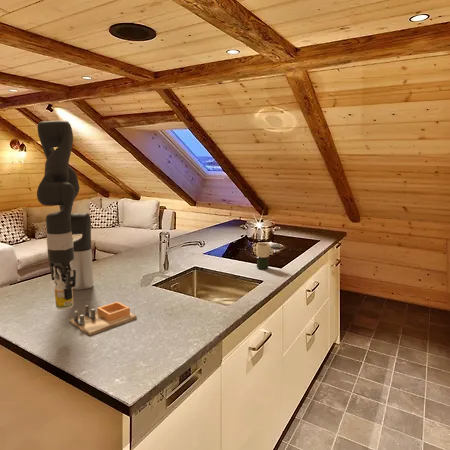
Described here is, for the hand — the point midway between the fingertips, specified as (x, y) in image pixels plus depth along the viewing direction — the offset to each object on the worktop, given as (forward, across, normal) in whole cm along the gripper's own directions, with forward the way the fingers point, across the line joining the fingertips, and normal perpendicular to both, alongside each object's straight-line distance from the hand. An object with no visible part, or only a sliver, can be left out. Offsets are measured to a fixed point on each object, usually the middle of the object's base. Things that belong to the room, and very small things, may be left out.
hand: (64, 296), depth 119 cm
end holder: (+13, 0, +17) cm, 21 cm away
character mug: (+14, +3, +104) cm, 105 cm away
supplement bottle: (+4, 0, 0) cm, 4 cm away
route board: (+13, 0, +13) cm, 18 cm away
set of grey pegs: (+12, -3, +8) cm, 14 cm away
